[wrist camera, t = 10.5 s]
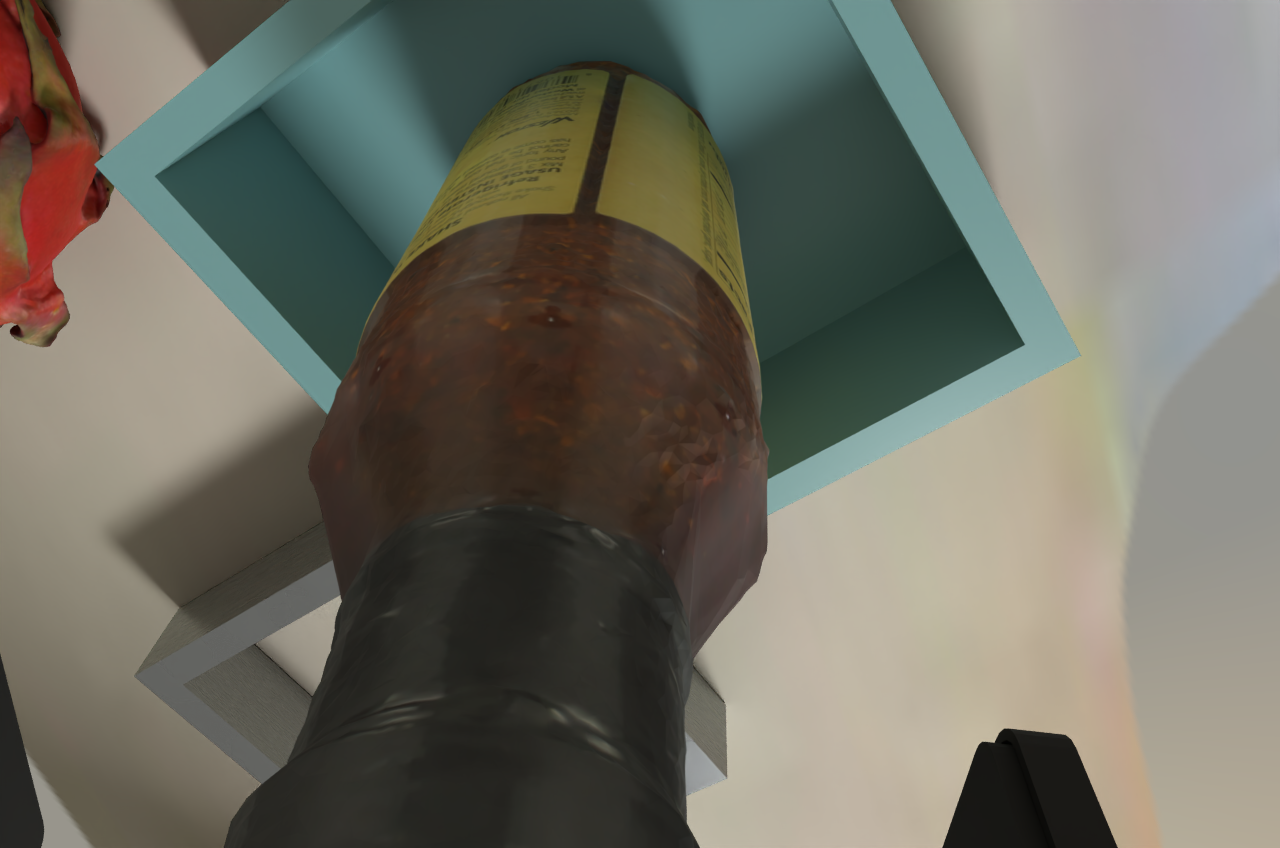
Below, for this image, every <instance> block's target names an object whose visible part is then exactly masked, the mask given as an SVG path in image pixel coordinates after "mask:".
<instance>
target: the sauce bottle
mask: <svg viewBox="0 0 1280 848" xmlns="http://www.w3.org/2000/svg"><path fill="white" fill-rule="evenodd" d="M761 405H762V388H761V375H760V365H759V360H758V354H757V348H756V343H755V335H754V328H753V324H752V318H751V311H750V305H749V298H748V292H747V285H746V279H745V272H744V266H743V260H742V253H741V247H740V238H739V230H738V223H737V216H736V209H735V203H734V192H733V186H732V183H731V180H730V176H729V173H728V169H727V166H726V164H725V161H724V158H723V156H722V154H721V152H720V150H719V148H718V146H717V144H716V143H715V141H714V139H713V137H712V135H711V132H710V130H709V128H708V126H707V124H706V122H705V120H704V118H703V116H702V115H701V113H700V112H699V111H698V110H696V109H695V108H693V107H691V106H690V105H689V104H687V103H686V102H685V101H684V100H683V99H682V98H681V97H680V96H679V95H678V94H677V93H676V92H675V91H674V90H672V89H670V88H668V87H667V86H665V85H663V84H662V83H660V82H658V81H656V80H654V79H652V78H650V77H648V76H647V75H645V74H643V73H640V72H637V71H634V70H633V69H631V68H629V67H627V66H624V65H621V64H618V63H615V62H612V61H581V62H576V63H572V64H568V65H561V66H558V67H556V68H554V69H552V70H550V71H549V72H546V73H543V74H541V75H538V76H536V77H534V78H532V79H528V80H527V81H526V82H524V83H523V84H520V85H517V86H515V87H513V88H512V89H511V90H510V91H509V92H508V93H507V94H506V95H505V96H504V97H503V98H501V99H500V100H499V102H498V103H497V104H496V105H495V106H494V107H493V108H492V109H491V110H490V111H489V112H488V113H487V114H486V115H485V116H484V117H483V119H482V120H481V121H480V122H479V123H478V125H477V126H476V128H475V129H474V131H473V132H472V134H471V135H470V137H469V139H468V140H467V142H466V144H465V146H464V147H463V149H462V151H461V153H460V154H459V156H458V158H457V160H456V161H455V163H454V165H453V167H452V169H451V170H450V172H449V174H448V176H447V178H446V180H445V181H444V183H443V185H442V187H441V189H440V190H439V192H438V194H437V196H436V198H435V199H434V201H433V203H432V205H431V207H430V209H429V210H428V212H427V214H426V216H425V218H424V219H423V221H422V223H421V225H420V227H419V228H418V230H417V232H416V234H415V236H414V237H413V239H412V241H411V242H410V244H409V246H408V248H407V249H406V251H405V253H404V255H403V256H402V258H401V260H400V261H399V263H398V265H397V267H396V268H395V270H394V272H393V274H392V275H391V277H390V279H389V281H388V282H387V284H386V286H385V287H384V289H383V291H382V293H381V294H380V296H379V298H378V300H377V301H376V303H375V305H374V307H373V309H372V311H371V313H370V315H369V317H368V319H367V321H366V324H365V327H364V330H363V333H362V336H361V339H360V342H359V345H358V349H357V354H356V358H355V359H354V360H353V362H352V364H351V366H350V368H349V369H348V371H347V373H346V375H345V377H344V378H343V380H342V381H341V383H340V385H339V387H338V388H337V391H336V394H335V399H334V401H333V404H332V406H331V409H330V411H329V413H328V415H327V418H326V422H325V425H324V427H323V429H322V430H321V432H320V436H319V439H318V441H317V442H316V444H315V445H314V447H313V449H312V453H311V457H310V461H309V465H308V468H309V477H310V480H311V482H312V484H313V486H314V488H315V490H316V493H317V496H318V499H319V502H320V506H321V511H322V515H323V519H324V524H325V528H326V533H327V537H328V541H329V546H330V550H331V555H332V559H333V564H334V568H335V573H336V577H337V582H338V586H339V591H340V595H341V600H342V603H341V605H340V607H339V610H338V613H337V616H336V621H335V632H334V636H333V641H332V646H331V652H330V654H329V656H328V658H327V661H326V665H325V668H324V672H323V675H322V679H321V682H320V684H319V686H318V688H317V690H316V691H315V693H314V695H313V697H312V700H311V703H310V706H309V710H308V714H307V718H306V721H305V723H304V725H303V727H302V729H301V731H300V733H299V735H298V737H297V739H296V742H295V745H294V748H293V750H292V752H291V754H290V756H289V759H288V762H287V764H286V765H285V766H284V767H282V768H281V769H280V770H279V771H278V772H276V773H275V774H274V775H273V776H271V777H270V778H269V779H268V780H266V781H265V782H264V783H263V784H261V785H260V786H259V787H258V788H257V789H256V790H255V791H254V792H253V793H252V794H251V795H250V796H249V797H248V798H247V799H246V800H245V802H244V803H243V805H242V806H241V808H240V809H239V811H238V812H237V814H236V815H235V816H234V818H233V819H232V821H231V824H230V827H229V831H228V834H227V838H226V842H225V845H224V848H700V847H699V845H698V843H697V841H696V839H695V837H694V836H693V834H692V832H691V830H690V828H689V826H688V825H687V807H686V780H685V760H686V751H687V749H686V738H685V705H686V702H687V700H688V697H689V693H690V687H691V681H692V675H693V658H694V657H695V655H696V654H697V653H698V651H699V650H700V649H701V647H702V646H703V645H704V643H705V642H706V641H707V639H708V638H709V637H710V635H711V634H712V633H713V631H714V630H715V629H716V627H717V626H718V625H719V623H720V622H721V621H722V620H723V619H724V618H725V617H726V616H727V615H728V613H729V612H730V611H731V610H732V609H733V608H734V607H735V606H736V604H737V603H738V602H739V601H740V600H741V598H742V597H743V595H744V594H745V592H746V591H747V590H748V589H749V588H750V587H751V586H752V585H753V584H755V583H756V582H757V579H758V576H759V573H760V569H761V565H762V561H763V558H764V556H765V554H766V552H767V481H768V475H767V467H768V462H767V459H768V455H769V448H768V446H767V445H766V443H765V441H764V438H763V433H762V427H761V422H760V414H761Z"/></svg>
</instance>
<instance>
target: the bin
mask: <svg viewBox="0 0 1280 848" xmlns="http://www.w3.org/2000/svg"><path fill="white" fill-rule="evenodd" d="M581 61H612V62H615V63H618V64H621V65H624V66H627V67H629V68H631V69H633V70H634V71H637V72H640V73H643V74H645V75H647V76H648V77H650V78H652V79H654V80H656V81H658V82H660V83H662V84H663V85H665V86H667V87H668V88H670V89H672V90H674V91H675V92H676V93H677V94H678V95H679V96H680V97H681V98H682V99H683V100H684V101H685V102H686V103H687V104H689V105H690V106H691V107H693V108H695V109H696V110H698V111H699V112H700V113H701V115H702V116H703V118H704V120H705V122H706V124H707V126H708V128H709V130H710V132H711V135H712V137H713V139H714V141H715V143H716V144H717V146H718V148H719V150H720V152H721V154H722V156H723V158H724V161H725V164H726V166H727V169H728V173H729V176H730V180H731V183H732V186H733V192H734V203H735V209H736V216H737V223H738V230H739V238H740V247H741V253H742V260H743V266H744V272H745V279H746V285H747V292H748V298H749V305H750V311H751V318H752V324H753V328H754V335H755V343H756V348H757V354H758V360H759V365H760V375H761V388H762V405H761V414H760V422H761V427H762V433H763V438H764V441H765V443H766V445H767V446H768V448H769V455H768V459H767V462H768V467H767V475H768V481H767V516H768V515H770V514H772V513H773V512H775V511H777V510H779V509H781V508H783V507H785V506H787V505H789V504H791V503H793V502H795V501H797V500H799V499H801V498H803V497H805V496H807V495H809V494H811V493H813V492H815V491H817V490H819V489H821V488H823V487H824V486H826V485H828V484H830V483H832V482H834V481H836V480H838V479H840V478H842V477H844V476H846V475H848V474H850V473H852V472H854V471H856V470H858V469H860V468H862V467H864V466H866V465H868V464H870V463H872V462H874V461H875V460H877V459H879V458H881V457H883V456H885V455H887V454H889V453H891V452H893V451H895V450H897V449H899V448H901V447H903V446H905V445H907V444H909V443H911V442H913V441H915V440H917V439H919V438H921V437H923V436H925V435H926V434H928V433H930V432H932V431H934V430H936V429H938V428H940V427H942V426H944V425H946V424H948V423H950V422H952V421H954V420H956V419H958V418H960V417H962V416H964V415H966V414H968V413H970V412H972V411H974V410H975V409H977V408H979V407H981V406H983V405H985V404H987V403H989V402H991V401H993V400H995V399H997V398H999V397H1001V396H1003V395H1005V394H1007V393H1009V392H1011V391H1013V390H1015V389H1017V388H1019V387H1021V386H1023V385H1025V384H1026V383H1028V382H1030V381H1032V380H1034V379H1036V378H1038V377H1040V376H1042V375H1044V374H1046V373H1048V372H1050V371H1052V370H1054V369H1056V368H1058V367H1060V366H1062V365H1064V364H1066V363H1068V362H1070V361H1072V360H1074V359H1076V358H1077V357H1079V356H1081V355H1080V353H1079V351H1078V349H1077V347H1076V345H1075V343H1074V342H1073V340H1072V338H1071V336H1070V334H1069V332H1068V330H1067V328H1066V327H1065V325H1064V323H1063V321H1062V319H1061V317H1060V315H1059V314H1058V312H1057V310H1056V308H1055V306H1054V304H1053V302H1052V301H1051V299H1050V297H1049V295H1048V293H1047V291H1046V289H1045V287H1044V286H1043V284H1042V282H1041V280H1040V278H1039V276H1038V274H1037V273H1036V271H1035V269H1034V267H1033V265H1032V263H1031V261H1030V260H1029V258H1028V256H1027V254H1026V252H1025V250H1024V248H1023V246H1022V245H1021V243H1020V241H1019V239H1018V237H1017V235H1016V233H1015V232H1014V230H1013V228H1012V226H1011V224H1010V222H1009V220H1008V218H1007V217H1006V215H1005V213H1004V211H1003V209H1002V207H1001V205H1000V204H999V202H998V200H997V198H996V196H995V194H994V192H993V191H992V189H991V187H990V185H989V183H988V181H987V179H986V177H985V176H984V174H983V172H982V170H981V168H980V166H979V164H978V163H977V161H976V159H975V157H974V155H973V153H972V151H971V150H970V148H969V146H968V144H967V142H966V140H965V138H964V136H963V135H962V133H961V131H960V129H959V127H958V125H957V123H956V122H955V120H954V118H953V116H952V114H951V112H950V110H949V108H948V107H947V105H946V103H945V101H944V99H943V97H942V95H941V94H940V92H939V90H938V88H937V86H936V84H935V82H934V81H933V79H932V77H931V75H930V73H929V71H928V69H927V67H926V66H925V64H924V62H923V60H922V58H921V56H920V54H919V53H918V51H917V49H916V47H915V45H914V43H913V41H912V40H911V38H910V36H909V34H908V32H907V30H906V28H905V26H904V25H903V23H902V21H901V19H900V17H899V15H898V13H897V12H896V10H895V8H894V6H893V4H892V2H891V0H290V1H288V2H287V3H286V4H285V5H284V6H282V7H281V8H280V9H279V10H278V11H276V12H275V13H274V14H273V15H272V16H270V17H269V18H268V19H267V20H266V21H265V22H263V23H262V24H261V25H260V26H259V27H257V28H256V29H255V30H254V31H253V32H251V33H250V34H249V35H248V36H247V37H245V38H244V39H243V40H242V41H241V42H240V43H238V44H237V45H236V46H235V47H234V48H232V49H231V50H230V51H229V52H228V53H226V54H225V55H224V56H223V57H222V58H220V59H219V60H218V61H217V62H216V63H214V64H213V65H212V66H211V67H210V68H209V69H207V70H206V71H205V72H204V73H203V74H201V75H200V76H199V77H198V78H197V79H195V80H194V81H193V82H192V83H191V84H189V85H188V86H187V87H186V88H185V89H184V90H182V91H181V92H180V93H179V94H178V95H176V96H175V97H174V98H173V99H172V100H170V101H169V102H168V103H167V104H166V105H164V106H163V107H162V108H161V109H160V110H158V111H157V112H156V113H155V114H154V115H153V116H151V117H150V118H149V119H148V120H147V121H145V122H144V123H143V124H142V125H141V126H139V127H138V128H137V129H136V130H135V131H133V132H132V133H131V134H130V135H129V136H128V137H126V138H125V139H124V140H123V141H122V142H120V143H119V144H118V145H117V146H116V147H114V148H113V149H112V150H111V151H110V152H108V153H107V154H106V155H105V156H104V157H102V158H101V159H100V160H99V161H98V162H97V163H95V164H94V165H95V166H96V167H97V168H98V169H99V170H100V171H101V172H102V174H103V175H104V176H105V177H106V178H107V179H108V180H109V181H110V182H111V183H112V184H113V185H114V186H115V187H116V189H117V190H118V191H119V192H120V193H121V194H122V195H123V196H124V197H125V198H126V199H127V200H128V201H129V202H130V204H131V205H132V206H133V207H134V208H135V209H136V210H137V211H138V212H139V213H140V214H141V215H142V216H143V217H144V219H145V220H146V221H147V222H148V223H149V224H150V225H151V226H152V227H153V228H154V229H155V230H156V231H157V232H158V234H159V235H160V236H161V237H162V238H163V239H164V240H165V241H166V242H167V243H168V244H169V245H170V246H171V247H172V249H173V250H174V251H175V252H176V253H177V254H178V255H179V256H180V257H181V258H182V259H183V260H184V261H185V262H186V264H187V265H188V266H189V267H190V268H191V269H192V270H193V271H194V272H195V273H196V274H197V275H198V276H199V277H200V279H201V280H202V281H203V282H204V283H205V284H206V285H207V286H208V287H209V288H210V289H211V290H212V291H213V292H214V294H215V295H216V296H217V297H218V298H219V299H220V300H221V301H222V302H223V303H224V304H225V305H226V306H227V307H228V309H229V310H230V311H231V312H232V313H233V314H234V315H235V316H236V317H237V318H238V319H239V320H240V321H241V322H242V324H243V325H244V326H245V327H246V328H247V329H248V330H249V331H250V332H251V333H252V334H253V335H254V336H255V337H256V339H257V340H258V341H259V342H260V343H261V344H262V345H263V346H264V347H265V348H266V349H267V350H268V351H269V353H270V354H271V355H272V356H273V357H274V358H275V359H276V360H277V361H278V362H279V363H280V364H281V365H282V366H283V368H284V369H285V370H286V371H287V372H288V373H289V374H290V375H291V376H292V377H293V378H294V379H295V380H296V381H297V383H298V384H299V385H300V386H301V387H302V388H303V389H304V390H305V391H306V392H307V393H308V394H309V395H310V396H311V398H312V399H313V400H314V401H315V402H316V403H317V404H318V405H319V406H320V407H321V408H322V409H323V410H324V411H325V413H326V414H327V415H328V413H329V411H330V409H331V406H332V404H333V401H334V399H335V394H336V391H337V388H338V387H339V385H340V383H341V381H342V380H343V378H344V377H345V375H346V373H347V371H348V369H349V368H350V366H351V364H352V362H353V360H354V359H355V358H356V354H357V349H358V345H359V342H360V339H361V336H362V333H363V330H364V327H365V324H366V321H367V319H368V317H369V315H370V313H371V311H372V309H373V307H374V305H375V303H376V301H377V300H378V298H379V296H380V294H381V293H382V291H383V289H384V287H385V286H386V284H387V282H388V281H389V279H390V277H391V275H392V274H393V272H394V270H395V268H396V267H397V265H398V263H399V261H400V260H401V258H402V256H403V255H404V253H405V251H406V249H407V248H408V246H409V244H410V242H411V241H412V239H413V237H414V236H415V234H416V232H417V230H418V228H419V227H420V225H421V223H422V221H423V219H424V218H425V216H426V214H427V212H428V210H429V209H430V207H431V205H432V203H433V201H434V199H435V198H436V196H437V194H438V192H439V190H440V189H441V187H442V185H443V183H444V181H445V180H446V178H447V176H448V174H449V172H450V170H451V169H452V167H453V165H454V163H455V161H456V160H457V158H458V156H459V154H460V153H461V151H462V149H463V147H464V146H465V144H466V142H467V140H468V139H469V137H470V135H471V134H472V132H473V131H474V129H475V128H476V126H477V125H478V123H479V122H480V121H481V120H482V119H483V117H484V116H485V115H486V114H487V113H488V112H489V111H490V110H491V109H492V108H493V107H494V106H495V105H496V104H497V103H498V102H499V100H500V99H501V98H503V97H504V96H505V95H506V94H507V93H508V92H509V91H510V90H511V89H512V88H513V87H515V86H517V85H520V84H523V83H524V82H526V81H527V80H528V79H532V78H534V77H536V76H538V75H541V74H543V73H546V72H549V71H550V70H552V69H554V68H556V67H558V66H561V65H568V64H572V63H576V62H581Z"/></svg>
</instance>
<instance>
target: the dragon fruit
mask: <svg viewBox="0 0 1280 848" xmlns="http://www.w3.org/2000/svg"><path fill="white" fill-rule="evenodd" d="M60 35H61V34H60V31H59V28H58V26H57V24H56V21H55V19H54V18H53V17H52V15H51V14H50V13H49V12H48V11H47V9H46V8H45V6H44V5H43V3H42V1H41V0H0V328H1V327H2V326H3V325H4V324H7V323H10V322H12V323H14V324H17V325H16V326H13V327H12V328H11V329H10V334H11V335H12V336H13V337H14V338H15V339H16V340H18V341H22V342H24V343H26V344H30V345H35V346H39V347H48V346H50V345H51V344H52V343H53V341H54V340H55V339H56V337H57V334H58V332H59V331H60V330H61V329H62V328H63V327H64V326H65V325H66V324H67V322H68V321H69V319H70V314H69V311H68V309H67V305H66V303H65V301H64V295H63V292H62V291H61V290H60V289H59V288H58V287H57V285H56V283H55V281H54V276H53V268H52V260H53V259H55V257H56V256H57V255H58V254H59V253H60V252H61V251H62V250H63V249H64V248H65V246H66V245H67V244H68V243H69V242H70V241H72V240H73V239H74V238H75V237H76V236H77V235H78V234H79V233H80V232H82V231H83V230H84V229H85V228H87V227H88V226H89V225H91V224H93V223H96V222H98V220H99V219H100V218H101V216H102V214H103V212H104V211H105V209H106V208H107V207H108V205H109V201H110V196H111V193H112V192H113V189H114V185H113V184H112V183H111V182H110V181H109V180H108V179H107V178H106V177H105V176H104V175H103V174H102V172H101V171H100V170H99V169H98V168H97V167H96V166H95V165H94V164H95V163H97V162H98V161H99V160H100V159H101V158H102V157H104V156H102V155H100V153H99V145H98V142H97V140H96V137H95V135H94V133H93V131H92V128H91V126H90V124H89V122H88V120H87V119H86V118H85V116H84V115H83V112H82V105H81V100H80V95H79V91H78V87H77V83H76V80H75V77H74V75H73V72H72V70H71V66H70V64H69V62H68V61H67V58H66V56H65V54H64V52H63V50H62V48H61V46H60V44H59V42H58V40H57V37H59V36H60Z"/></svg>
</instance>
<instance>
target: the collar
mask: <svg viewBox="0 0 1280 848" xmlns="http://www.w3.org/2000/svg"><path fill="white" fill-rule="evenodd" d="M339 595H340V591H339V586H338V582H337V577H336V573H335V568H334V564H333V559H332V555H331V550H330V546H329V541H328V537H327V533H326V528H325V524H324V521H323V522H322V523H320V524H318V525H317V526H315V527H314V528H312V529H310V530H309V531H307V532H305V533H304V534H302V535H300V536H299V537H297V538H295V539H294V540H292V541H290V542H289V543H287V544H285V545H284V546H282V547H280V548H279V549H277V550H275V551H274V552H272V553H270V554H269V555H267V556H266V557H264V558H262V559H261V560H259V561H257V562H256V563H254V564H252V565H251V566H249V567H247V568H246V569H244V570H242V571H241V572H239V573H237V574H236V575H234V576H232V577H231V578H229V579H227V580H226V581H224V582H222V583H221V584H219V585H218V586H216V587H214V588H213V589H211V590H209V591H208V592H206V593H204V594H203V595H201V596H199V597H198V598H196V599H194V600H193V601H191V602H189V603H188V604H186V605H184V606H183V607H181V608H179V609H178V611H177V612H176V614H175V615H174V617H173V618H172V620H171V621H170V623H169V624H168V626H167V627H166V629H165V630H164V632H163V633H162V635H161V636H160V638H159V639H158V641H157V642H156V644H155V645H154V647H153V648H152V650H151V651H150V653H149V654H148V656H147V657H146V659H145V660H144V662H143V663H142V665H141V666H140V668H139V669H138V671H137V673H136V674H135V676H134V677H136V678H137V679H138V680H139V681H140V682H141V683H143V684H144V685H145V686H146V687H147V688H149V689H150V690H151V691H152V692H153V693H155V694H156V695H157V696H158V697H159V698H160V699H162V700H163V701H164V702H165V703H166V704H168V705H169V706H170V707H171V708H172V709H174V710H175V711H176V712H177V713H178V714H179V715H181V716H182V717H183V718H184V719H185V720H187V721H188V722H189V723H190V724H191V725H193V726H194V727H195V728H196V729H197V730H198V731H200V732H201V733H202V734H203V735H204V736H206V737H207V738H208V739H209V740H210V741H212V742H213V743H214V744H215V745H216V746H217V747H219V748H220V749H221V750H222V751H223V752H225V753H226V754H227V755H228V756H229V757H231V758H232V759H233V760H234V761H235V762H236V763H238V764H239V765H240V766H241V767H242V768H244V769H245V770H246V771H247V772H248V773H250V774H251V775H252V776H253V777H254V778H255V779H257V780H258V781H259V782H260V783H261V784H263V783H264V782H265V781H266V780H268V779H269V778H270V777H271V776H273V775H274V774H275V773H276V772H278V771H279V770H280V769H281V768H282V767H284V766H285V765H286V764H287V762H288V759H289V756H290V754H291V752H292V750H293V748H294V745H295V742H296V739H297V737H298V735H299V733H300V731H301V729H302V727H303V725H304V723H305V721H306V718H307V714H308V710H309V706H310V703H311V700H312V697H311V696H310V695H309V694H308V693H307V692H306V691H304V690H303V689H302V688H301V687H300V686H299V685H298V684H297V683H296V682H295V681H293V680H292V679H291V678H290V677H289V676H288V675H287V674H286V673H285V672H284V671H282V670H281V669H280V668H279V667H278V666H277V665H276V664H275V663H274V662H273V661H272V660H270V659H269V658H268V657H267V656H266V655H265V654H264V653H263V652H262V651H261V650H259V649H258V648H257V647H256V646H255V645H254V644H255V643H257V642H258V641H260V640H262V639H264V638H265V637H267V636H269V635H271V634H272V633H274V632H276V631H278V630H279V629H281V628H283V627H285V626H287V625H288V624H290V623H292V622H294V621H295V620H297V619H299V618H301V617H302V616H304V615H306V614H308V613H309V612H311V611H313V610H315V609H316V608H318V607H320V606H322V605H323V604H325V603H327V602H329V601H330V600H332V599H334V598H336V597H338V596H339ZM685 738H686V749H687V751H686V760H685V780H686V796H687V795H689V794H692V793H694V792H697V791H699V790H701V789H704V788H706V787H708V786H711V785H713V784H716V783H718V782H720V781H723V780H725V779H727V745H726V705H725V704H724V702H723V701H722V700H721V699H720V698H719V697H718V695H717V694H716V693H715V692H714V691H713V690H712V688H711V687H710V686H709V685H708V684H707V683H706V681H705V680H704V679H703V678H702V677H701V676H700V674H699V673H698V672H697V671H696V670H695V669H694V667H693V675H692V681H691V687H690V693H689V697H688V700H687V702H686V705H685Z"/></svg>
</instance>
